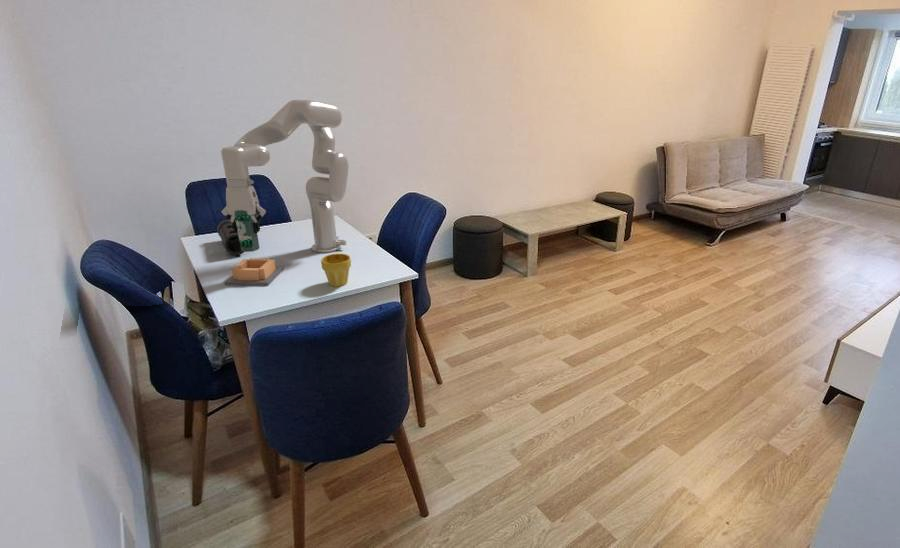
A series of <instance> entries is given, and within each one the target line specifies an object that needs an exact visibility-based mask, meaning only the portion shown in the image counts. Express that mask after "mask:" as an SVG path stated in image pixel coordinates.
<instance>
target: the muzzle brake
mask: <svg viewBox="0 0 900 548" xmlns="http://www.w3.org/2000/svg"><path fill="white" fill-rule="evenodd" d="M216 231H217V234H218V236H219V237H220V239H221V241H222V245H223V247H224V248H225V250H226V251H227V252H228V254H230V255H233V256H236V257H240V256H241V254H242V255H243V254H244V253H245V252H244V251H241V247H240V242H239V236H238V233H235V231H234V230H233V225H232V222H230V220H229V219H228V218H226V219H224V220H222V221H220V222H219V223H218V225H217V228H216Z"/></svg>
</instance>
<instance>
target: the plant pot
mask: <svg viewBox="0 0 900 548" xmlns="http://www.w3.org/2000/svg"><path fill="white" fill-rule="evenodd" d="M320 263H321V269H322V270H323V271H324V273H325V275H326V278H327V281H328V284H329V286H331V287H342V286H344V285H347V283H348V281H349V272H350V268H351V267H352V259H351V256H350V255H348V254H346V253H331V254H328V255H325V256H323V257H321V259H320Z"/></svg>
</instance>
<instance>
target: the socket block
mask: <svg viewBox="0 0 900 548" xmlns="http://www.w3.org/2000/svg"><path fill="white" fill-rule="evenodd" d="M284 270H285V266H284V265H283V266H282V265H281V266H280V265H276V260H275V259H271V258H261V257H260V258H258V257H257V258H253V257H252V258H248V259H246V258H244V259H242V260H241V261H240V262H239V263H236V265H235V266H233V267H232V268H231V272H232V273H231V274H232V275H231V276H230V277H229V278H227V279H226V280H225V281H224V282H223V283H224V285H225V286H254V285H259V286H260V285H261V286H260V287H264V286H266V287H267V286H269V285H271V284H272V282H273V281H274V280H275V279H277V277H278V276H279V275H280V274H281V273H282V272H283V271H284ZM262 285H263V286H262Z"/></svg>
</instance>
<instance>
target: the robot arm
mask: <svg viewBox="0 0 900 548" xmlns="http://www.w3.org/2000/svg"><path fill="white" fill-rule="evenodd" d="M342 121H343V115H342V112H341V110H340V109H339V108H338V107H337V106H335V105H334V104H333V105H332V104H328V103H323V102H318V101H314V100H310V99H309V100H307V99H292V100H289V101H288V102H287V103H286V104H284V105H283V107H282V108H280V110H278V111H277V113H275V114H274V115H273V116H272V117H271V118H270V119H268V121H266V122H264V123H262V124H260V125H259V126H257V127H255V128H252V129H250V130H249V131H248V132H246V133H245V134H244V135H242V137H240V138H239V139H238V140H237V141H236V143H234V145H233V146H226V147H222V149H221V150H220V151H221V159H222V164H223V169H224V174H225V175H224V176H225V180H226V188H225V202H226V203H225V204H226V206H224V208H223V209H222V210H221V213H222V214H223V215H224V216H225V217H226V219H229V220H230V222H232V225H233V230H234V231H235V233H238V231H237V226H236V220H235V211H247V213H248V215H250V216H251V218H252V219H253V221H254V223H253V229H254V233H257V234H258V233H259V232H260V231H261V226H260V221H261V219H262V218H263V217H264V215H266V212H267V210H266V209H265V208H263V207H262V206H261V205H260V203H259V198H258V195H257V192H256V188H254V185H252V184H254V183H255V181H254V180H253V179H251V177H250V173H249V172H250V171H249V167H262V166H265V165H267V164H268V163H269V162H270V158H271V153H270V151H269V150H268V148H267V147H266V146H269V145H273V144H277V143H281V142H284V141H285V140H287V139H288V138H289V137H290V136H291V135H292V134H293V133H294V132H295V131H296V130H297V129H298V128H299V127H300V126H301V125H302V124H307V125H308V127H309V128H310V130H311V132H312V135H313V151H312V160H311V168H312V169H313V171H314V172H316V173H317V174H321V175H328V177H323V176H312V177H310V178H309V179H308V180H307V182H306V184H305V193H306V196H307V199H308V202H309V208H310V215H311V216H310V217H311V221H312V230H313V231H312V232H313V239H314V243H313V245H312V246H311V250H312V251H313V252H315V253H322V254H323V253H332V252H335V251H338V250H340V249H342V246H347V241H346V240H345V239H339V236H337V231H336V220H335V211H334V206H333V203H339V202H341V201H342V200H343V199H344V198H345V195H346V193H347V192H346V191H347V186H348V185H347V184H348V176H349V162H348V158H347V157H346V155H345V154H343V153H342V152H339V151H335V147H336V137H335V134H334V132H333V129H335V128H338V127H340V125H341V123H342ZM258 213H259V214H258Z"/></svg>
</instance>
